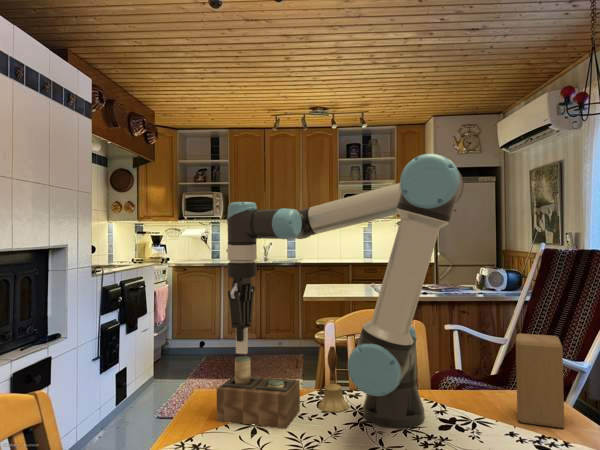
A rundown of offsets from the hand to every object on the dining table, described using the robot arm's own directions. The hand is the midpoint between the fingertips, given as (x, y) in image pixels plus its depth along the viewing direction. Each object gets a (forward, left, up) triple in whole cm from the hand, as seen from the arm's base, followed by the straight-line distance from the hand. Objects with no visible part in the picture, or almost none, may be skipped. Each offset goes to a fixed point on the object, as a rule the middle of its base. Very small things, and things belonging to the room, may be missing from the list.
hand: (241, 352), depth 121 cm
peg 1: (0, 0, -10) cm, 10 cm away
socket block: (-5, 0, -16) cm, 16 cm away
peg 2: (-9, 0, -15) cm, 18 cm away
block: (-73, -15, -16) cm, 76 cm away
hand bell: (-22, -11, -16) cm, 29 cm away
